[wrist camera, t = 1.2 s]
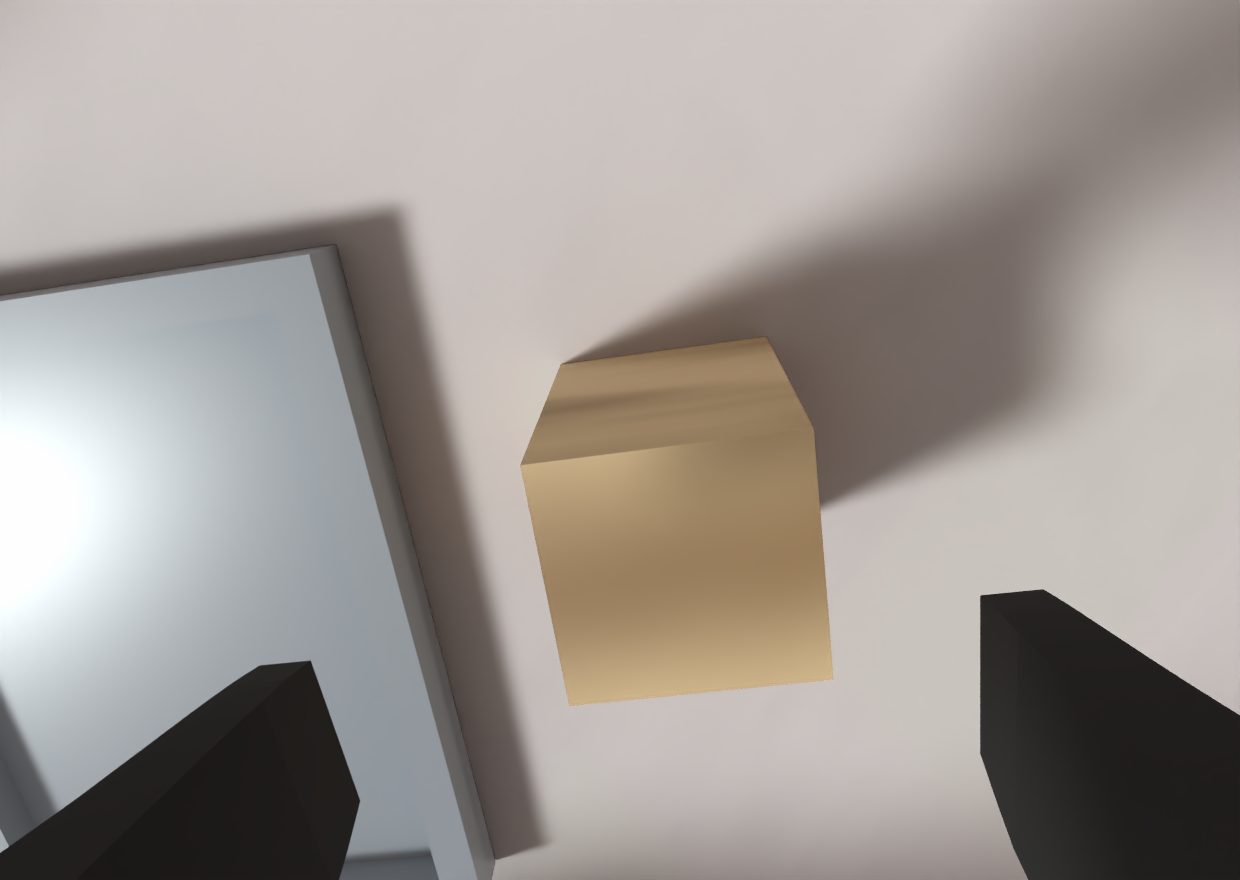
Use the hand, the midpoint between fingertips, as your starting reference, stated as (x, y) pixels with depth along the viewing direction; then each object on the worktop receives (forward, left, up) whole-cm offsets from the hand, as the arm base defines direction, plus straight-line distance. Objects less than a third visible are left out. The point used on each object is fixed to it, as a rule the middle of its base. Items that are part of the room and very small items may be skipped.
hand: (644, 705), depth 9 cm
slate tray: (-4, +13, -10) cm, 17 cm away
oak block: (-1, 0, -11) cm, 11 cm away
